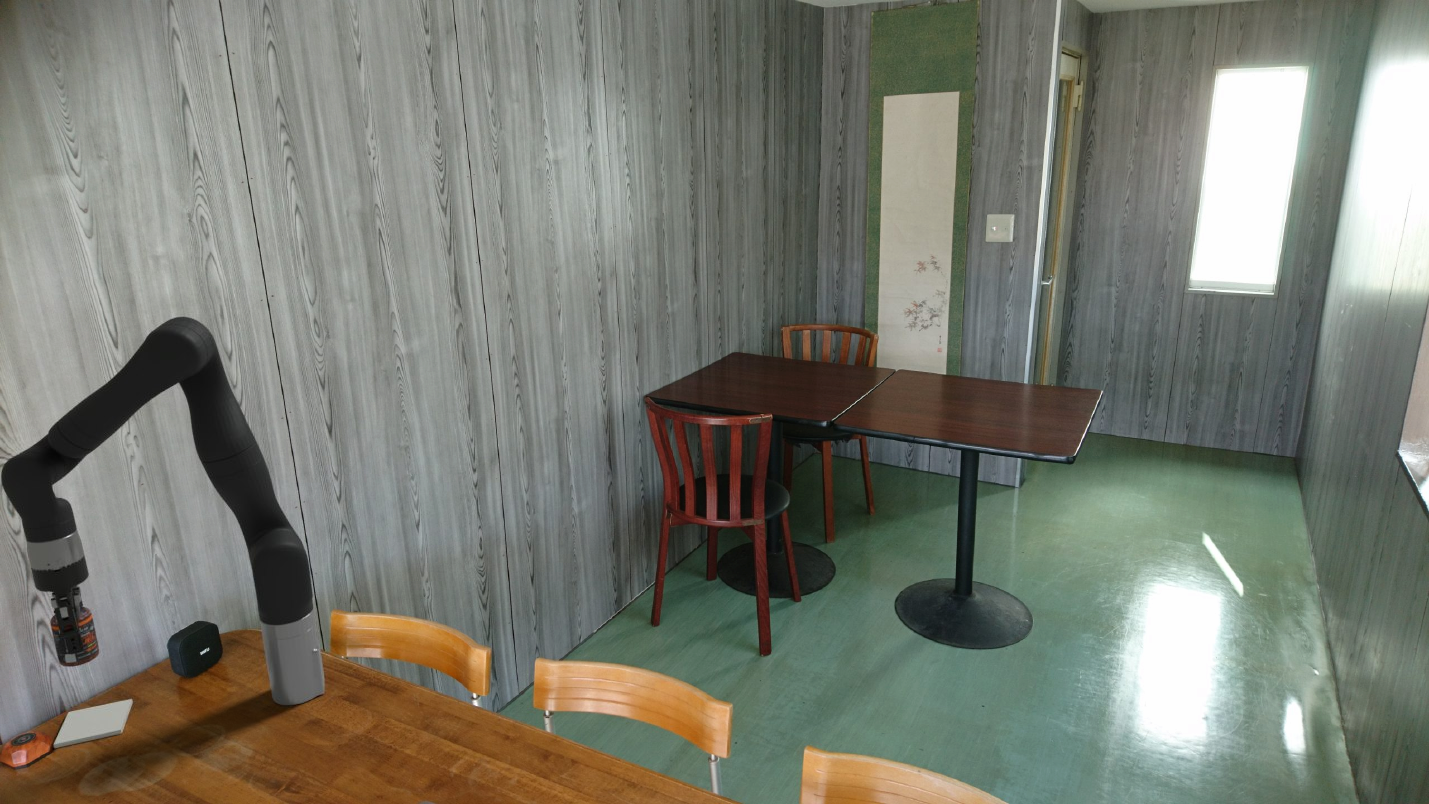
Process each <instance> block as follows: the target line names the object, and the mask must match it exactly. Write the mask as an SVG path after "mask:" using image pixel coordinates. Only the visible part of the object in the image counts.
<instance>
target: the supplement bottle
mask: <svg viewBox="0 0 1429 804" xmlns="http://www.w3.org/2000/svg"><path fill="white" fill-rule="evenodd" d="M81 598H82V597H81ZM81 598H80V600H81V601H80V603H79V604H80V610H81V618H80V619H79V626H80V628H81V630H80V633H81V638H82V642H83V646H84V650H83V651H82V652H79V653H75V654H68V651H67V646H66V642H65V638H61V636H60V631H59V627H58V623H57V622H56V617H55V614H53V616H52V617H51V618H50V624H49V625H50V628H51V633H52V638H53V642H54V646H55V650H56V651H55V652H56V656H57V660H58V664H60V666H63V667H66V668H67V667H68V668H69V667H77V666H78V667H79V666H81V665H85V664H88V663H90V662H91V661H93V660H94V659H96V658H97V657H98V656H99V655H100V646H99V641H98V638H97V631H96V628H95V623H94V622H95V621H94V618H93V614H92V611H91V609H89V608H88V607H86V606H84V604H83V600H82V599H81ZM74 613H75V614H76V611H75V612H74ZM72 627H73V625H68V626H65V628H66V629H68V628H72Z"/></svg>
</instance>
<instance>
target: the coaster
mask: <svg viewBox="0 0 1429 804" xmlns="http://www.w3.org/2000/svg"><path fill="white" fill-rule="evenodd" d="M133 702H134V701H133V699H132V698H129V699H126V700H120V701H115V702H110V703H106V704H102V705H96V706H91V707H86V708H81V709H77V710H72V711H68V712H67V715H66V717H65V719H64V722H63V723H62V725H61V728H60V730H59V732H58V735H57V737H56V739H55V740H54V743H53V748H54V749H57V748H62V747H66V746H67V747H68V746H71V745H75V744H80V743H86V742H89V741H94V740H98V739H103V738H107V737H112V736H116V735H121V734H123V731H124V728H125V726H126V722H127V720H128V717H129V715H130V712H131V708H132V706H133Z"/></svg>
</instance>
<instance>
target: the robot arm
mask: <svg viewBox="0 0 1429 804" xmlns="http://www.w3.org/2000/svg"><path fill="white" fill-rule="evenodd" d="M214 337H215V336H213V334H212V332H211V331H210V330H209V329H208V327H207V326H206V325H204V324H203V323H202V322H200V321H199V320H197V319H195V318H192V317H187V316H177V317H172V318H170V319H168V320H166V321H165V322H163V323H161V324H160V325H158V326H157V327H156V328H154V329H153V330H151V331H150V333H149V334H147V336H146V337H145V339H144V341H143V342H142V343H141V345H140V346H139V347H138V349H137V350H136V351H135V353H134V354H133V355H132V357H131V358H130V359H129V360H128V361H127V362H126V363H125V365H123V367H122V368H121V369H120V370H119V371H118V372H117V373H116V374H115V375H114V376H113V377H112V378H111V379H109V380H108V381H107V382H106V383H104V385H102V386H101V387H99V388H98V389H96V390H95V391H94V392H92V393H90V395H88V396H86V397H85V398H84V399H82V400H81V401H80V402H78V403H77V404H76V405H75V406H74V407H73V408H71V409H70V410H68V412H67V413H65V414H64V415H63V416H62V417H60V419H58V420H57V421H56V422H55V423H54V424H53V425H52V426H51V427H50V429H49V430H48V433H47V434H45V436H43V437H42V438H41V439H40V440H38V441H37V442H36V443H34V444H33V445H31V446H30V447H28V448H26V449H24V450H23V451H21V452H20V453H17V454H16V455H14V456H12V457H11V458H9V459H8V460H7V461H6V462H5V463H4V465H3V466H2V469H1V473H0V474H1V475H0V480H1V486H2V488H3V491H4V493H5V495H6V497H7V498H8V500H9V502H10V503H11V505H12V507H13V508H14V510H15V512H16V513H17V514H18V515H19V517H20V519H21V523H22V524H21V525H22V528H23V533H24V537H25V543H26V554H27V559H28V562H29V566H30V570H31V574H32V578H33V583H34V587H35V589H36V590H37V591H40V592H42V593H43V592H44V593H48V592H49V593H51V598H50V603H51V604H50V605H51V607H52V609H53V614H54V615H55V617H56V622H57V623H58V627H59V631H60V636H61V638H65V642H66V646H67V651H68V654H75V653H79V652H82V651H83V650H84V646H83V642H82V638H81V633H80V630H81V628H80V626H79V619H80V618H81V610H80V604H79V603H80V601H81V600H80V598H81V599H82V591H81V587H80V586H79V585H81V584H83V583H85V581H86V580H87V579H88V578H89V569H88V564H87V560H86V555H85V551H84V546H83V543H82V539H81V536H80V533H79V532H78V527H77V524H76V523H77V522H76V519H75V515H74V511H73V507H72V504H71V503H70V501H69V500H67V499H65V498H62V497H57V496H56V494H55V492H54V489H53V485H54V484H56V483H58V482H59V481H61V480H62V479H64V478H65V477H66V476H68V474H70V473H71V472H72V471H74V469H75V468H76V467H77V466H78V465H79V464H80V463H81V462H82V461H83V460H84V459H85V458H86V457H87V456H88V455H89V454H91V453H92V452H94V451H95V450H96V449H97V448H99V447H100V446H101V445H103V443H105V442H106V441H107V440H108V439H110V438H111V436H113V435H114V434H115V433H116V432H117V431H118V430H120V429H121V428H122V427H123V426H124V425H125V424H126V423H127V422H128V421H129V420H130V419H131V418H132V417H133V416H134V415H135V414H136V413H137V412H138V411H139V410H140V409H141V408H142V407H144V406H145V405H146V404H148V403H149V402H150V401H151V400H153V399H154V398H156V397H157V396H159V395H161V394H162V393H164V392H165V391H167V390H168V389H170V388H172V387H174V386H175V385H178V384H179V386H180V388H181V389H182V392H183V394H184V397H185V400H186V402H187V406H188V411H189V417H190V423H191V424H190V425H191V431H192V432H191V433H192V437H193V442H194V443H193V444H194V448H195V452H196V453H197V458H198V459H199V461H200V462H201V464H202V466H203V469H204V471H205V473H206V475H207V477H208V479H209V480H210V482H211V484H212V486H213V487H214V489H215V490H216V492H217V494H218V495H219V496H220V497H221V499H222V501H223V502H225V504H226V505H227V507H228V508H229V509H230V511H232V513H233V515H234V517H235V518H236V520H237V521H236V522H237V523H238V525H239V528H240V530H241V533H242V535H243V539H244V541H245V545H246V549H247V553H248V559H249V563H250V566H251V572H252V578H253V583H254V589H255V590H254V591H255V596H256V603H257V613H258V618H259V622H260V623H259V624H260V630H261V636H262V642H263V649H264V655H265V662H266V667H267V672H268V680H269V684H270V685H269V686H270V692H271V698H272V700H273V702H274V703H276V704H278V705H280V706H293V705H298V704H303V703H306V702H309V701H310V700H312V699H314V698H316V697H317V696H321V695H324V694H325V672H324V665H323V659H322V658H323V657H322V651H321V650H322V649H321V645H320V644H321V643H320V637H319V636H318V631H317V626H316V622H317V621H316V617H315V610H314V601H313V600H314V599H313V596H314V594H313V593H314V591H313V586H312V584H313V583H312V577H311V569H310V563H309V557H308V554H307V551H306V548H305V546H304V543H303V541H302V539H301V537H300V536H299V535H298V533H297V532H296V531H295V529H294V528H293V526H292V525H291V523H290V521H289V519H288V518H287V517H286V514H285V512H284V511H283V510H282V508H281V505H280V504H279V502H278V501H279V500H278V499H277V496H276V493H275V490H274V485H273V481H272V478H271V475H270V471H269V469H268V465H267V463H266V459H265V457H264V455H263V453H262V451H261V448H260V446H259V444H258V442H257V440H256V437H255V435H254V434H253V432H252V429H251V428H250V426H249V423H248V421H247V418H246V417H245V415H244V412H243V410H242V409H241V406H240V404H239V402H238V400H237V398H236V396H235V394H234V392H233V390H232V388H231V385H230V383H229V381H228V377H227V374H226V372H225V368H224V364H223V361H222V359H221V355H220V353H219V349H218V346H217V342H216V340H215V338H214ZM75 611H76V614H75V613H74V612H75ZM68 625H73V627H72V628H68V629H66V628H65V626H68Z"/></svg>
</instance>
